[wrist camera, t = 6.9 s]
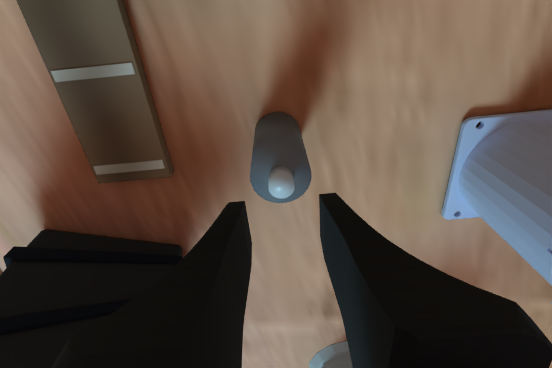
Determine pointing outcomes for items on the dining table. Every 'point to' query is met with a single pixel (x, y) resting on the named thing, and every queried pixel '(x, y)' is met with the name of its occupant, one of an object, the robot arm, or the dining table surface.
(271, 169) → the awl peg
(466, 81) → the dining table surface
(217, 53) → the dining table surface
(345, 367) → the french press
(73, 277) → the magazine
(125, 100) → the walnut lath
